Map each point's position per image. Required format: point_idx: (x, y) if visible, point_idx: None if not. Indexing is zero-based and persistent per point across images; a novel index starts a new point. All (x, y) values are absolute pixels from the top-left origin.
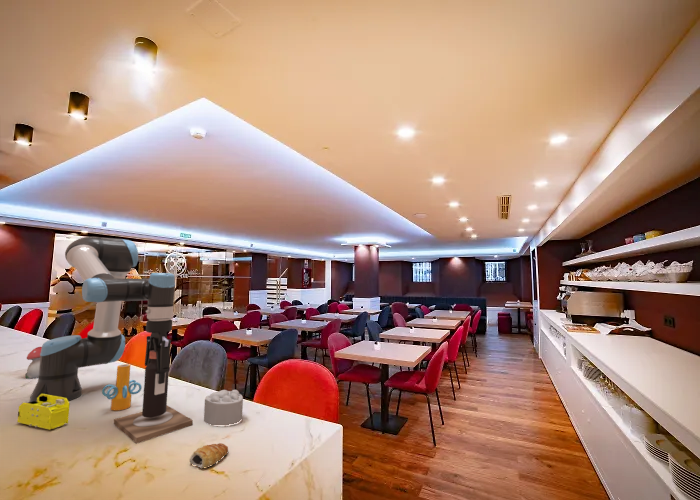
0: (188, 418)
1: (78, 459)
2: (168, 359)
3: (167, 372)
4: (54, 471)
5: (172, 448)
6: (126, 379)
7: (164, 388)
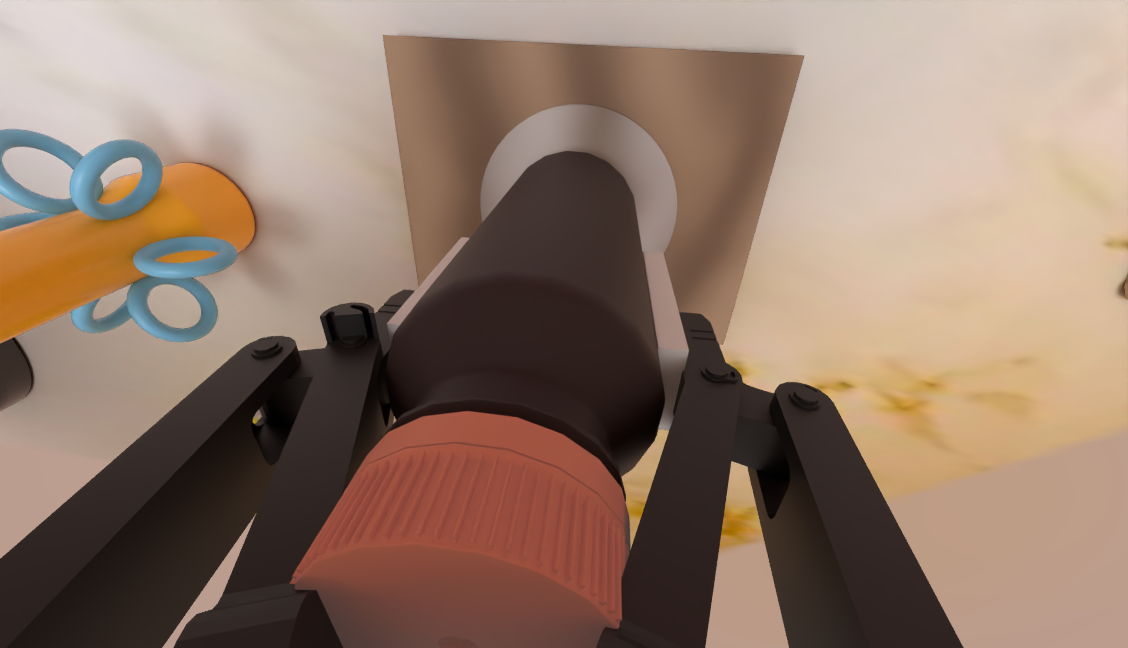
0: (753, 61)
1: (660, 457)
2: (890, 545)
3: (638, 294)
4: None
5: (919, 270)
6: (67, 266)
7: (666, 268)
